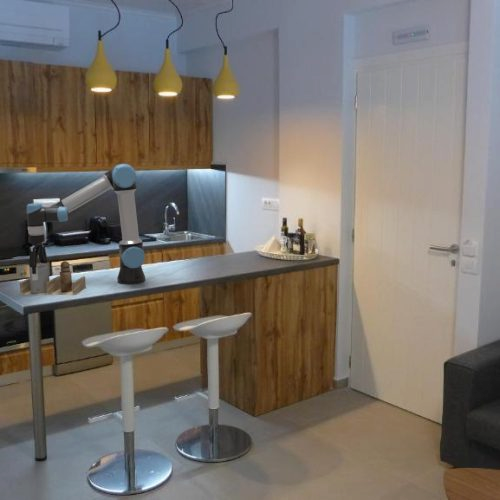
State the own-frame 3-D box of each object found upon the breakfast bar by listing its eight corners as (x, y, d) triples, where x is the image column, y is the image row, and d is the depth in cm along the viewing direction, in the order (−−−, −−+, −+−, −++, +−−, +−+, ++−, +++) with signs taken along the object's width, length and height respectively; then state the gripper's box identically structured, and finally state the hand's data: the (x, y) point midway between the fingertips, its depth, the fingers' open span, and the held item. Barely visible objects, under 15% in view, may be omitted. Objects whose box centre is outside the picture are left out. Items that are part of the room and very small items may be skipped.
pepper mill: (73, 289, 319) (72, 260, 316) (70, 292, 313) (68, 262, 310) (63, 289, 319) (61, 260, 316) (59, 292, 313) (57, 262, 311)
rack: (85, 289, 324) (85, 276, 322) (75, 296, 308) (74, 283, 307) (33, 289, 325) (32, 276, 324) (20, 296, 310) (19, 282, 309)
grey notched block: (26, 292, 313) (24, 268, 311) (39, 288, 322) (37, 265, 320) (41, 293, 310) (40, 269, 308) (54, 289, 319) (52, 266, 317)
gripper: (38, 231, 322) (41, 273, 326) (19, 237, 300) (23, 282, 304) (52, 231, 322) (54, 273, 325) (34, 237, 300) (37, 282, 304)
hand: (39, 277), depth 315 cm, fingers closed on grey notched block, 9 cm apart
